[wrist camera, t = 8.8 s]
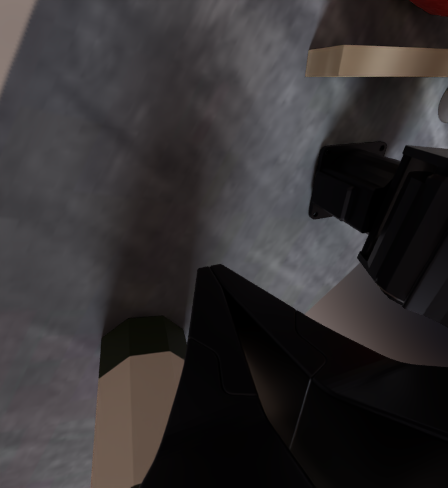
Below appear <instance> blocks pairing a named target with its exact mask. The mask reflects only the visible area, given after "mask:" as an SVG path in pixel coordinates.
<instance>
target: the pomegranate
mask: <svg viewBox="0 0 448 488" xmlns="http://www.w3.org/2000/svg"><path fill="white" fill-rule="evenodd" d="M409 1H411V2H413V3H414V4H415V5H416V6H418V7H419V8H422V9H423V10H424V11H426V12H428V13H429V14H431V15H440V16H446V17H448V0H409Z"/></svg>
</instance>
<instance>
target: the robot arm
mask: <svg viewBox="0 0 448 488" xmlns="http://www.w3.org/2000/svg"><path fill="white" fill-rule="evenodd" d="M380 147H381V148H380ZM386 148H387V144H386V143H385V142H381V141H378V142H365V143H353V144H340V145H327V146H324V147H323V148H322V149H321V151H320V155H319V161H318V166H317V172H316V176H315V182H314V187H313V193H312V198H311V204H310V210H309V217H311V218H312V219H320V218H326V217H332V216H334V217H336V218H337V219H339V220H340V221H344V222H345V223H347V224H348V225H350V226H352V227H353V228H355V229H356V230H358V231H359V232H361V233H366V234H368V237H367V239H366V242H365V244H364V246H363V248H362V251H360V252H359V254H358V257H357V259H358V260H359V261H360V263H361V264H362V265H363V267H364V268H365V269H366V271H367V272H368V273H369V275H370V276H371V277H372V278H373V280H374V281H375V283H376V284H377V286H378V287H379V288H380V289H381V290H382V291H383V293H384V294H385V295H387V296H388V298H389V299H391V300H393V301H395V302H396V303H398V304H400V305H402V307H403V308H404V309H407V310H409V311H412V312H415V313H418V314H421V315H424V316H426V317H428V318H430V319H432V320H434V321H437V322H439V323H441V324H442V325H444V326H446V327H448V149H443V148H432V147H420V146H409V145H406V146H405V148H404V151H403V153H402V154H403V157H402V159H401V161H399V160H395V159H392V158H388V157H385V156H384V154H385V151H386ZM327 150H328V153H327V154H326V151H327ZM315 212H316V213H315ZM314 213H315V214H314ZM139 488H448V367H437V366H425V365H414V364H408V363H403V362H399V361H396V360H393V359H390V358H388V357H385V356H383V355H381V354H379V353H377V352H375V351H373V350H371V349H369V348H367V347H365V346H363V345H361V344H359V343H357V342H355V341H353V340H351V339H349V338H347V337H345V336H342V335H341V334H339V333H337V332H335V331H333V330H331V329H329V328H327V327H325V326H323V325H322V324H320V323H318V322H316V321H315V320H313V319H311V318H309V317H308V316H306V315H304V314H303V313H301V312H299V311H298V310H295V309H294V308H293V307H291V306H289V305H288V304H286V303H285V302H283V301H281V300H280V299H278V298H276V297H275V296H273V295H271V294H270V293H268V292H266V291H265V290H263V289H262V288H260V287H258V286H257V285H255V284H253V283H252V282H250V281H248V280H247V279H245V278H244V277H242V276H240V275H239V274H237V273H235V272H234V271H232V270H230V269H229V268H227V267H225V266H224V265H222V264H217V265H212V266H210V267H208V266H207V267H202V268H198V270H197V277H196V284H195V292H194V299H193V306H192V313H191V321H190V328H189V335H188V341H187V349H186V354H185V360H184V365H183V369H182V373H181V377H180V381H179V385H178V388H177V391H176V395H175V398H174V401H173V405H172V408H171V411H170V415H169V418H168V421H167V425H166V428H165V431H164V434H163V437H162V440H161V443H160V446H159V449H158V451H157V454H156V456H155V458H154V461H153V463H152V465H151V466H150V468H149V470H148V472H147V474H146V476H145V477H144V479H143V481H142V483H141V485H140V486H139Z"/></svg>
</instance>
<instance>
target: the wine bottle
mask: <svg viewBox="0 0 448 488" xmlns="http://www.w3.org/2000/svg"><path fill="white" fill-rule="evenodd" d="M186 349H187V343H186V339H185V335H184V331H183V330H182V329H181V328H180V327H178V326H177V325H176V324H174V323H173V322H171V321H170V320H169V319H167V318H166V317H165V316H153V317H140V318H128V319H127V320H126V321H124V322H123V323H122V324H120V325H119V326H117V327H116V328H115V329H113V330H112V331H111V332H109V333H108V334H107V335H105V336H104V337H103V338H102V340H101V354H100V367H99V381H98V394H97V408H96V422H95V435H94V449H93V462H92V476H91V488H139V486H140V485H141V483H142V481H143V479H144V477H145V476H146V474H147V472H148V470H149V468H150V466H151V465H152V463H153V461H154V458H155V456H156V454H157V451H158V449H159V446H160V443H161V440H162V437H163V434H164V431H165V428H166V425H167V421H168V418H169V415H170V411H171V408H172V405H173V401H174V398H175V395H176V391H177V388H178V385H179V381H180V377H181V373H182V369H183V365H184V360H185V354H186Z"/></svg>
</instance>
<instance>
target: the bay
mask: <svg viewBox="0 0 448 488" xmlns="http://www.w3.org/2000/svg"><path fill="white" fill-rule="evenodd" d="M305 77H448V49H434V48H410V47H386V46H361V45H339V46H333V47H326V48H320V49H313V50H309V52H308V59H307V67H306V74H305ZM438 116H439V119H440V120H441V121H442V122H444V123H448V89H447V90H446V92H445V93H444V95H443V97H442V99H441V101H440V104H439V109H438Z"/></svg>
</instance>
